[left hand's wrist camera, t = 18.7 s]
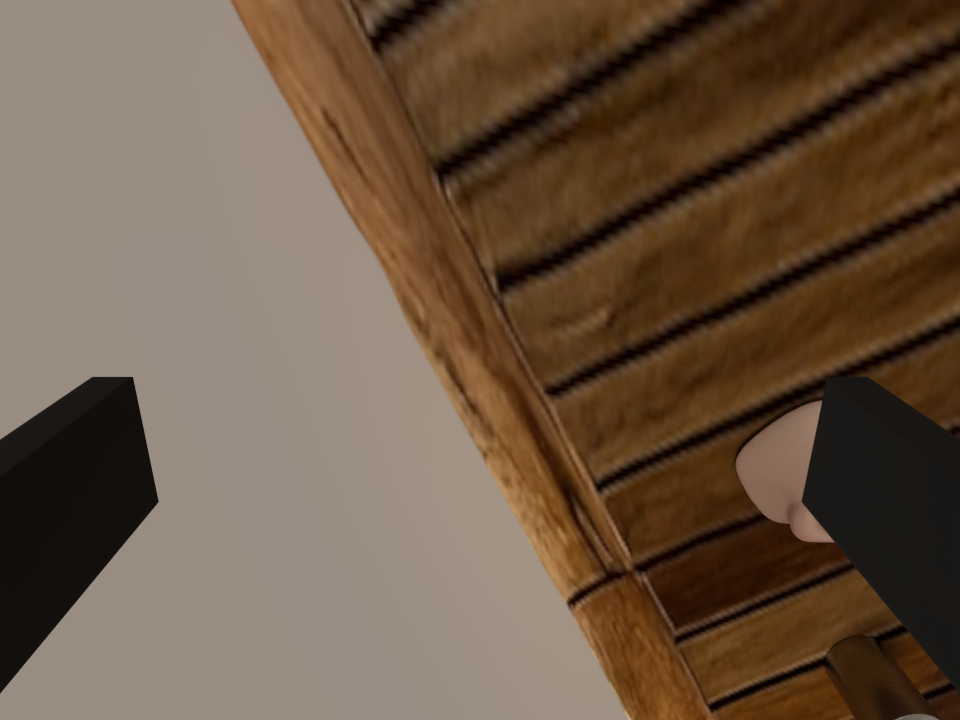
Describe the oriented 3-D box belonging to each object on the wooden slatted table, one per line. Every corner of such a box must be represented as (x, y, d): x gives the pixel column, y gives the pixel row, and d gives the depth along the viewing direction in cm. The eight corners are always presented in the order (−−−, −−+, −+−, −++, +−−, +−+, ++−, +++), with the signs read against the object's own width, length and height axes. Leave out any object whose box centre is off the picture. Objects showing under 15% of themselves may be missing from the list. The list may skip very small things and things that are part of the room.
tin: (817, 681, 56) (866, 763, 49) (833, 633, 55) (887, 712, 47) (876, 684, 57) (933, 767, 49) (894, 637, 55) (957, 716, 48)
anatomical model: (729, 514, 46) (842, 386, 42) (710, 484, 49) (812, 363, 46) (869, 593, 48) (987, 478, 44) (841, 559, 52) (948, 450, 48)
